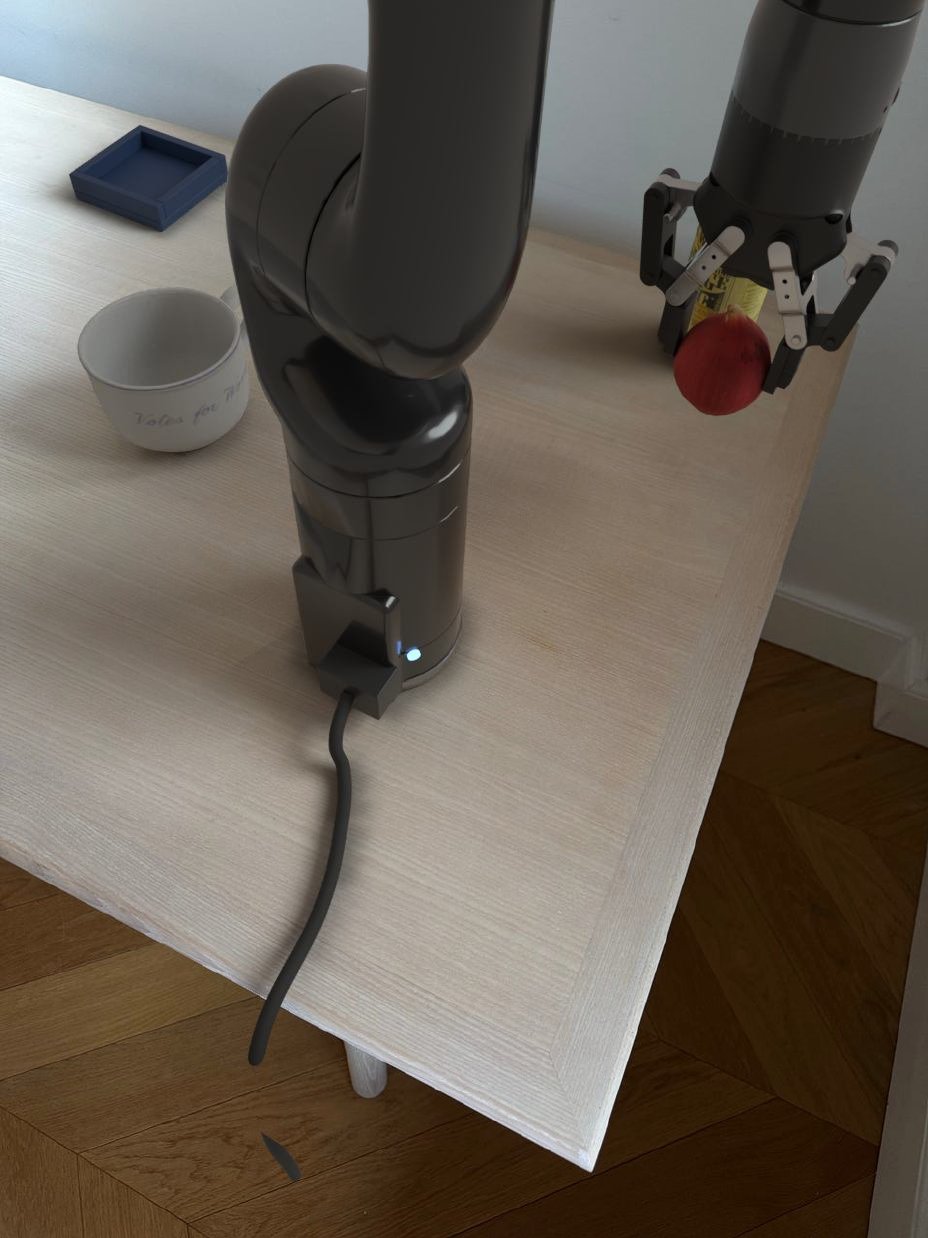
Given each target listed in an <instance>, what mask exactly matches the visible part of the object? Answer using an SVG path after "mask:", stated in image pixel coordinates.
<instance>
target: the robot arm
mask: <svg viewBox="0 0 928 1238" xmlns="http://www.w3.org/2000/svg"><path fill="white" fill-rule="evenodd" d="M366 3H367V65H366V66H367V67H366V71H365V70H362V69H360V68H358V67H356V66H355V67H354V66H350V65H347V64H342V63H341V64H339V63H320V64H313V65H310V66H306V67H303V68H300V69H298V70H295V71H293V72H291V73H289V74H287V75H286V76H285V77H282V78H281V79H279V80H278V81H277V82H276V83H275V84H272V86H271V87H270V88H269V89H268V90H267V91H266V92H265V93H264V94H263V95H262V96H261V97H260V98H259V100H258V101H257V102H256V103H255V104H254V106H253V107H252V109H251V110H250V112H249V113H248V115H247V116H246V118H245V120H244V122H243V123H242V125H241V128H240V130H239V132H238V134H237V137H236V140H235V143H234V146H233V148H232V151H231V156H230V160H229V164H228V167H227V169H228V170H227V171H228V174H227V180H226V181H225V195H224V196H225V197H224V210H225V211H224V215H225V217H224V218H225V229H226V238H227V245H228V251H229V257H230V262H231V267H232V272H233V278H234V281H235V285H236V286H237V291H238V296H239V300H240V304H239V305H240V308H241V309H240V310H241V313H242V319H243V318H244V323H245V327H246V332H247V336H248V340H249V348H250V354H251V358H252V362H253V366H254V371H255V373H256V377H257V379H258V383H259V385H260V387H261V390H262V391H263V394H264V396H265V398H266V399H267V401H268V403H269V405H270V407H271V408H272V410H273V412H274V414H275V416H276V418H277V419H278V421H279V424H280V426H281V431H282V437H283V442H284V447H285V454H286V455H285V456H286V461H287V467H288V474H289V483H290V489H291V495H292V503H293V508H294V514H295V522H296V529H297V535H298V541H299V549H300V554H301V555H300V556H299V557H298V558H297V559H296V560H295V562H294V563H293V564H292V566H291V574H292V579H293V585H294V591H295V597H296V603H297V609H298V615H299V620H300V627H301V634H302V638H303V645H304V652H305V657H306V662H307V663H308V664H310V665H311V666H314V667H316V671H317V678H318V684H319V691H320V692H321V693H323V694H325V695H327V696H329V697H330V698H333V699H335V700H337V701H338V702H337V705H336V708H335V710H334V713H333V716H332V719H331V722H330V727H329V732H328V744H327V745H328V752H329V754H330V755H329V756H330V758H331V759H332V761H333V763H334V766H335V772H336V781H337V797H336V801H337V802H336V809H335V816H334V822H333V831H332V835H331V843H330V848H329V854H328V858H327V863H326V866H325V871H324V873H323V874H324V875H323V878H322V881H321V883H320V887H319V890H318V893H317V896H316V899H315V901H314V904H313V907H312V909H311V911H310V914H309V916H308V918H307V921H306V923H305V925H304V927H303V929H302V931H301V933H300V935H299V937H298V938H297V941H296V943H295V945H294V946H293V948H292V949H291V952H290V953H289V955H288V957H287V958H286V960H285V962H284V964H283V965H282V968H281V969H280V971H279V973H278V975H277V976H276V979H275V980H274V982H273V984H272V986H271V988H270V990H269V992H268V994H267V996H266V998H265V1000H264V1003H263V1006H262V1008H261V1010H260V1013H259V1015H258V1018H257V1020H256V1024H255V1026H254V1027H255V1028H254V1030H253V1034H252V1037H251V1039H250V1043H249V1050H248V1054H247V1061H248V1064H249V1065H250V1066H252V1067H256V1066H259V1065H260V1064H261V1063H262V1062H263V1061H264V1058H265V1056H266V1051H267V1048H268V1044H269V1039H270V1036H271V1033H272V1030H273V1028H274V1024H275V1022H276V1018H277V1016H278V1014H279V1011H280V1009H281V1007H282V1005H283V1003H284V1001H285V998H286V996H287V994H288V992H289V990H290V988H291V986H292V984H293V982H294V980H295V979H296V977H297V975H298V973H299V971H300V969H301V968H302V965H303V964H304V962H305V960H306V959H307V956H308V955H309V953H310V952H311V949H312V948H313V945H314V943H315V941H316V939H317V937H318V935H319V933H320V931H321V928H322V927H323V924H324V922H325V919H326V917H327V915H328V911H329V910H330V906H331V905H332V900H333V898H334V894H335V891H336V888H337V885H338V881H339V877H340V874H341V870H342V864H343V861H344V855H345V850H346V849H345V848H346V842H347V835H348V829H349V823H350V815H351V809H352V808H351V807H352V796H353V795H352V794H353V791H352V790H353V789H352V773H351V765H350V761H349V759H348V757H347V754H346V753H345V751H344V750H345V749H344V733H345V727H346V724H347V721H348V718H349V716H350V713H351V710H352V708H353V709H355V710H357V711H359V712H361V713H363V714H364V715H367V716H369V717H371V718H373V719H375V720H377V721H380V720H381V718H382V717H383V716H384V714H385V712H386V711H387V710H388V708H389V707H390V705H391V704H392V703H394V702H395V701H396V699H397V698H398V697H399V695H400V694H401V693H402V692H403V691H406V690H409V689H412V688H416V687H418V686H421V685H423V684H425V683H428V682H429V681H431V680H432V679H434V678H436V677H437V676H438V675H440V673H442V672H443V671H444V670H445V669H446V668H447V667H448V665H450V663H451V662H452V661H453V659H454V658H455V656H456V654H457V651H458V649H459V646H460V644H461V640H462V633H463V631H462V630H463V615H462V614H463V613H462V606H463V586H464V571H465V554H466V553H465V551H466V536H467V534H466V533H467V520H468V519H467V518H468V517H467V516H468V503H469V502H468V500H469V486H470V485H469V484H470V473H471V471H470V470H471V457H472V456H471V455H472V452H471V451H472V439H473V437H472V436H473V421H474V420H473V419H474V398H473V390H472V386H471V382H470V379H469V376H468V373H467V371H466V369H465V367H464V365H463V364H464V362H466V361H467V360H468V359H469V358H470V357H472V355H474V353H476V351H477V350H478V349H479V348H480V346H481V345H482V344H483V343H484V342H485V340H486V339H487V338H488V337H489V335H490V333H491V332H492V330H493V328H494V327H495V325H496V324H497V321H498V320H499V318H500V317H501V315H502V312H503V311H504V309H505V307H506V305H507V303H508V300H509V298H510V296H511V293H512V291H513V288H514V286H515V283H516V280H517V276H518V274H519V270H520V266H521V263H522V259H523V256H524V253H525V249H526V244H527V240H528V235H529V231H530V223H531V219H532V210H533V203H534V198H535V197H534V196H535V189H536V179H537V173H538V172H537V171H538V170H537V169H538V162H539V154H540V153H539V152H540V144H541V134H542V126H543V125H542V124H543V114H544V113H543V112H544V106H545V105H544V103H545V95H546V84H547V77H548V76H547V75H548V67H549V59H550V58H549V57H550V48H551V39H552V31H553V24H554V23H553V21H554V15H555V14H554V13H555V5H556V0H366ZM926 3H927V0H757V3H756V5H755V8H754V9H753V13H752V15H751V17H750V20H749V23H748V26H747V28H746V29H747V30H746V33H745V36H744V39H743V43H742V46H741V50H740V55H739V59H738V63H737V66H736V69H735V73H734V78H733V82H732V86H731V89H730V93H729V97H728V101H727V104H726V108H725V112H724V116H723V120H722V124H721V126H720V127H721V128H720V132H719V135H718V138H717V142H716V146H715V151H714V155H713V159H712V162H711V166H710V170H709V173H708V175H707V176H706V177H705V178H704V180H702V182H699V181H693V180H688V179H687V180H686V179H681V175H680V173H679V171H678V170H676V169H675V168H672V167H666V168H664V169H663V170H662V171H661V172H660V174H659V175H658V176H657V177H656V178H655V179H654V181H653V182H652V183H651V185H649V187H648V188H647V189H646V190H645V192H644V193H643V206H642V223H641V240H640V242H641V244H640V259H639V279H640V282H641V283H642V284H643V285H645V286H647V287H656V288H657V289H659V290H660V291H661V293H663V295H664V298H665V302H664V306H663V310H662V314H661V318H660V322H659V326H658V330H657V334H656V335H657V341H658V343H660V344H662V345H664V346H663V350H662V354H664V355H667V356H669V357H672V358H675V353H676V351H677V349H678V347H679V345H680V343H681V341H682V340H683V338H684V336H685V335H686V333H687V331H688V327H689V323H690V320H691V316H692V313H693V309H694V306H695V302H696V299H697V295H698V290H696V289H697V288H698V287H699V286H701V285H702V284H703V283H704V282H705V281H706V280H707V279H708V278H709V277H710V276H711V275H712V274H713V273H714V272H715V271H716V270H717V269H718V268H719V267H721V268H722V271H721V273H723V274H726V275H729V276H732V277H738V278H747V279H750V280H751V281H753V282H754V283H756V284H757V285H759V286H761V287H763V288H766V289H768V291H769V290H770V291H773V292H774V294H775V300H776V307H777V313H778V315H781V319H782V325H783V332H784V335H783V337H782V338H781V340H780V341H779V343H778V346H777V349H776V351H775V353H774V356H773V359H772V361H771V367H770V370H769V372H768V375H767V378H766V380H765V383H764V386H763V388H762V392H763V393H766V394H768V395H772V396H774V393H775V392H776V390H777V388H778V389H781V390H785V389H786V388H788V387H789V386H790V385H791V383H792V381H793V379H794V377H795V376H796V374H797V371H798V370H799V367H800V364H801V362H802V360H803V357H804V356H805V355H804V354H805V353H806V349H807V348H809V347H813V346H815V347H816V346H817V347H820V348H821V349H822V350H824V351H826V352H830V353H832V352H836V351H838V350H840V348H841V347H842V346H843V344H844V342H845V341H846V339H847V338H848V336H849V335H850V333H851V332H852V331H853V328H854V327H855V326H856V324H857V323H858V321H859V320H860V318H861V317H862V315H863V314H864V312H865V310H866V309H867V307H868V306H869V305H870V303H871V301H872V300H873V298H874V297H875V296H876V294H877V292H878V291H879V289H880V288H881V286H882V285H883V284H884V282H885V280H886V279H887V277H888V275H889V274H890V273H889V272H890V271H891V269H892V268H893V265H894V263H895V261H896V259H897V257H898V256H899V251H900V249H899V245H898V244H897V243H896V242H895V241H894V240H891V239H883V240H880V241H879V242H878V243H875V242H872V241H871V240H869V239H867V238H865V237H863V236H861V235H858V234H857V233H854V232H853V223H852V209H853V208H852V207H853V205H854V202H855V199H856V197H857V195H858V192H859V189H860V187H861V184H862V182H863V179H864V176H865V175H866V171H867V169H868V166H869V163H870V161H871V159H872V156H873V154H874V151H875V149H876V146H877V144H878V141H879V138H880V137H881V133H882V131H883V128H884V126H885V123H886V121H887V119H888V115H889V113H890V110H891V108H892V106H893V105H894V104H895V103H896V101H897V99H898V96H899V93H900V91H901V88H902V82H903V81H902V80H903V78H904V75H905V73H906V69H907V67H908V63H909V60H910V58H911V55H912V51H913V47H914V44H915V39H916V34H917V30H918V28H919V23H920V19H921V15H922V13H923V10H924V8H925V5H926ZM689 207H692V208H693V209H692V210H693V211H694V214H695V217H696V219H697V222H698V225H700V227H701V230H702V232H703V235H704V238H705V240H706V243H705V244H704V245H703V247H702V248H701V249H700V250H699V251H698V253H697V254H696V255H695V256H694V257H693V258H692V259H691V260H690V261H689V262H688V261H687V263H686V264H685V265H683V264H681V263H680V262H679V261H677V260H676V259H675V251H676V240H677V228H678V227H677V226H678V222H679V221H680V220H681V219H682V218H683V216H684V215H685V213H686V212H687V211H688V208H689ZM837 257H842V259H843V260H844V263H845V269H844V271H843V278H844V280H845V281H846V283H847V284H848V285H849V288H848V289H847V291H846V293H845V294H844V296H843V297H842V299H841V301H840V302H839V304H838V305H837V307H836V309H834V311H833V313H822V312H821V313H819V305H818V295H817V294H818V293H817V289H818V283H819V277H818V269H820V268H821V267H823V266H824V265H827V264H828V263H829V262H831V261H833V260H834V259H836V258H837ZM260 1134H261V1138H262V1140H263V1143H264V1145H265V1147H266V1149H267V1150H268V1152H269V1153H270V1155H271V1157H273V1159H274V1160H275V1161H276V1162H277V1163H278V1165H280V1167H282V1169H283V1170H284V1172H285V1173H286V1174H287V1175H288V1178H289V1179H290V1180H291V1181H292V1182H298V1181H299V1180H300V1179H301V1177H302V1172H301V1169H300V1167H299V1164H298V1163H297V1162H296V1160H295V1159H294V1157H293V1156H292V1155H291V1153H290V1152H289V1151H288V1150H287V1148H286V1147H285V1146H284V1145H282V1144H281V1143H279V1142H277V1141H276V1140H274V1139H273V1138H271V1137H269V1136H268V1135H266V1134H265V1133H263V1132H262V1131H260Z"/></svg>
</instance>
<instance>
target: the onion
mask: <svg viewBox="0 0 928 1238" xmlns="http://www.w3.org/2000/svg"><path fill="white" fill-rule="evenodd" d="M673 358H674V359H673V378H674V380H675V384H676V386H677V389H678V391H679V392H680V394H681V395H682V397H683V398H684V399H685V400H686V401H687V402H688V403H690V404H691V406H693V407H694V408H695V409H696V410H697V411H698V412H699V413H702V414H704V415H707V416H712V417H721V416H722V417H723V416H728V415H732V414H735V413H737V412H739V411H741V410H744V409H746V408H748V407H749V406H750V405H752V404H753V403H754V402H755V401H757V399H758V398H759V397H760V395H761V394H762V392H763V391H762V388H763V386H764V383H765V380H766V378H767V375H768V372H769V370H770V367H771V364H772V355H771V345H770V342H769V339H768V337H767V335H766V333H765V332H764V330H763V329H762V328H761V327H760V326H759V325H758V324H757V322H756V323H755V322H754V321H753V320H752V319H751V318H749V317H748V316H747V315H746V314H745V313H744V311H743V308H742V307H740V306H739V305H736V304H730V305H728V307H727V312H724V313H718V314H714V315H711V316H709V317H707V318H705V319H704V320H702V321H700V322H699V323H697V324H696V325H695V326H693V327H692V328H691V329H690V330H689V331H688V332H687V333H686V335H685V336H684V338H683V340H682V341H681V343H680V345H679V347H678V349H677V351H676V353H675V356H674V357H673Z"/></svg>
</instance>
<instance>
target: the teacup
mask: <svg viewBox="0 0 928 1238" xmlns="http://www.w3.org/2000/svg"><path fill="white" fill-rule="evenodd" d="M239 305H240V300H239V296H238V291H237V286H236V284H234V285H231V286H229V287H228V288H227V289H225V290H224V291H223V293H222V294H221V295H220V297H218V296H216V295H214V294H211V293H209V292H206V291H202V290H197V289H194V288H187V287H180V286H179V287H178V286H176V287H175V286H173V287H171V286H169V287H168V286H167V287H160V288H151V289H146V290H141V291H139V292H134V293H131V294H129V295H126V296H123V297H120V298H119V299H116V300H114V301H112V302H110V303H108V304H107V305H106V306H104V307H103V308H101V309H100V310H99V311H97V312H96V313H95V314H94V315H93V316H92V317H90V319H89V320H88V321H87V323H86V324H85V325H84V327H83V328H82V330H81V332H80V334H79V338H78V341H77V348H76V349H77V355H78V359H79V361H80V363H81V366H82V367H83V369H84V370H85V371H86V373H87V376H88V378H89V381H90V384H91V386H92V389H93V392H94V394H95V396H96V399H97V400H98V403H99V405H100V407H101V410H102V412H103V413H104V415H105V417H106V419H107V420H108V422H109V423H110V425H111V427H113V429H114V430H115V431H116V432H117V433H118V434H119V435H120V436H121V437H122V438H124V439H125V440H127V441H129V442H130V443H132V444H134V445H135V446H138V447H141V448H144V449H147V450H151V451H156V452H166V453H168V452H169V453H182V452H183V453H184V452H190V451H195V450H198V449H201V448H204V447H207V446H209V445H211V444H212V443H214V442H216V441H217V440H219V439H220V438H222V437H223V436H224V435H227V434H228V432H230V431H231V430H232V429H233V428H235V426H236V425H237V424H238V423H239V421H240V420H241V419H242V417H243V415H244V413H245V411H246V409H247V406H248V403H249V400H250V390H251V385H250V373H249V368H248V363H247V360H246V353H245V352H246V350H247V349H248V348H249V347H250V345H249V340H248V336H247V332H246V327H245V323H244V318H243V317H242V320H241V322H240V319H239V317H238V315H237V314H236V311H237V310H238V307H239Z"/></svg>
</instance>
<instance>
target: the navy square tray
mask: <svg viewBox="0 0 928 1238" xmlns="http://www.w3.org/2000/svg"><path fill="white" fill-rule="evenodd" d="M227 174H228V164H227V158H226V154H223V153H221V152H218V151H215V150H212V149H210V148H207V147H204V146H201V145H198V144H195V143H192V142H189V141H187V140H184V139H181V138H179V137H176V136H173V135H170V134H167V133H164V132H162V131H159V130H156V129H154V128H150V127H147V126H145V125H142V124H138V125H137V126H136V127H134V128H132V129H131V130H129V131H128V132H127V133H126V134H124V135H122V136H121V137H120V138H118V139H117V140H115V141H114V142H112V143H110V145H108V146H106V147H105V148H104V149H102V150H101V151H100V152H98V153H97V154H95V155H94V156H92V157H91V158H89V159H88V160H86V161H85V162H83V163H82V164H81V165H79V166H78V167H76V168H75V169H73V171H71V172H70V173H68V176H69V179H70V183H71V186H72V189H73V192H74V196H75V199H78V200H80V201H82V202H85V203H88V204H90V205H93V206H95V207H99V208H101V209H104V210H106V211H109V212H111V213H114V214H116V215H119V216H121V217H123V218H124V217H125V218H127V219H129V220H132V221H135V222H136V223H140V224H142V225H145V226H148V227H150V228H153V229H155V230H158V231H161V232H164V231H165V230H166V229H168V228H169V227H170V226H172V225H173V224H174V223H176V222H177V221H178V220H179V219H181V218H182V217H183V216H184V215H185V214H187V213H188V212H189V211H190V210H192V209H193V208H195V207H196V205H198V204H199V203H200V202H201V201H203V200H204V199H205V198H206V197H208V196H209V195H210V194H212V193H213V192H214V191H216V190H217V189H218V188H219V187H220V186H221V185H223V184H224V183H226V180H227Z"/></svg>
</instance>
